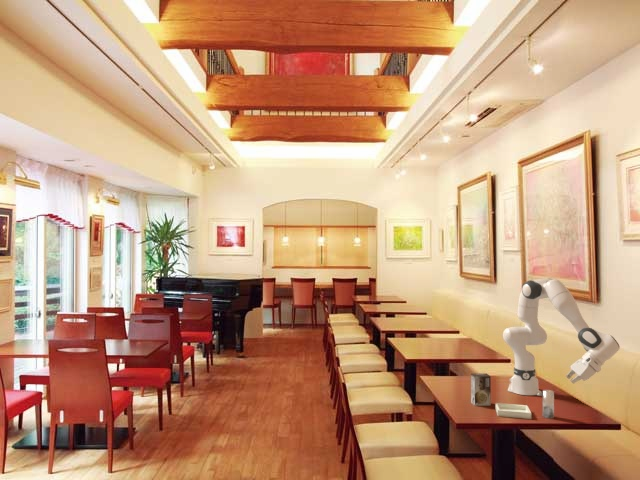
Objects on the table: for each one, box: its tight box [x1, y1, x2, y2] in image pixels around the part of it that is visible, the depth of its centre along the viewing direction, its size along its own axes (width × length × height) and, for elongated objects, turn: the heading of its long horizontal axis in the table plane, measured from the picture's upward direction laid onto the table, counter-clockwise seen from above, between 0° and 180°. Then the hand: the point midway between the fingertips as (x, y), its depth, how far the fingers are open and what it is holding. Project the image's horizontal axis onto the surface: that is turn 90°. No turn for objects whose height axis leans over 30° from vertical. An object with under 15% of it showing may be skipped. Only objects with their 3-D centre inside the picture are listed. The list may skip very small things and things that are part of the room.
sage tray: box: [494, 402, 532, 420], centre depth 262 cm, size 13×16×3 cm
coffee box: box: [470, 372, 492, 407], centre depth 278 cm, size 9×6×16 cm
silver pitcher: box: [535, 389, 555, 420], centre depth 258 cm, size 5×8×13 cm, turn 76°
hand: (569, 379), depth 255 cm, fingers open, 8 cm apart
